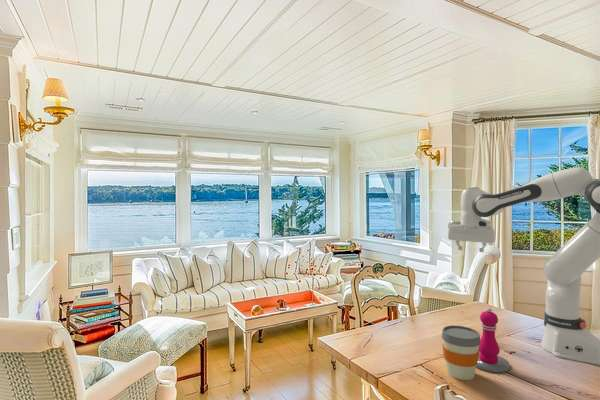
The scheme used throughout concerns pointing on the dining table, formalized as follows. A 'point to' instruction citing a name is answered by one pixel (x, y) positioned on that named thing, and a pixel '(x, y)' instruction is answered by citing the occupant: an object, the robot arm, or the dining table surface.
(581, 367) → the dining table surface
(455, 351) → the reusable coffee cup
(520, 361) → the dining table surface
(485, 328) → the pepper mill
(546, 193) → the robot arm
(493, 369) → the plate
